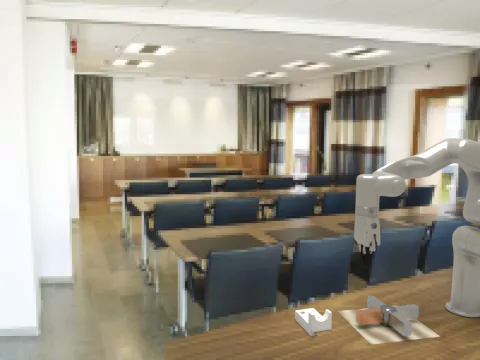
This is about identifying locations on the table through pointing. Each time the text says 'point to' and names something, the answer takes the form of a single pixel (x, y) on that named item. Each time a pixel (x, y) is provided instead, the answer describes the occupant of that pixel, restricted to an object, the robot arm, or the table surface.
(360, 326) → the base plate
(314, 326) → the bracket
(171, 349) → the table surface
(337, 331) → the table surface
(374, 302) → the capstan
